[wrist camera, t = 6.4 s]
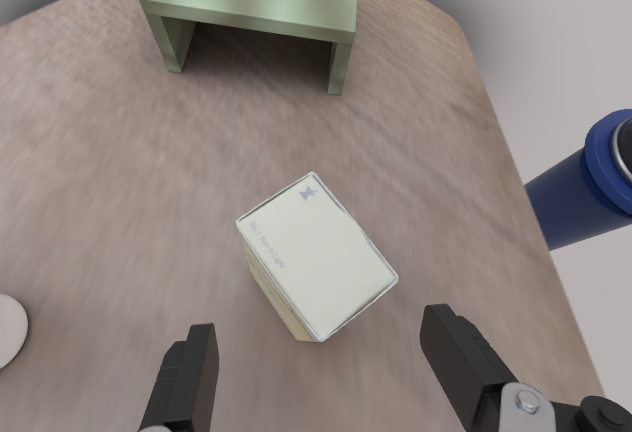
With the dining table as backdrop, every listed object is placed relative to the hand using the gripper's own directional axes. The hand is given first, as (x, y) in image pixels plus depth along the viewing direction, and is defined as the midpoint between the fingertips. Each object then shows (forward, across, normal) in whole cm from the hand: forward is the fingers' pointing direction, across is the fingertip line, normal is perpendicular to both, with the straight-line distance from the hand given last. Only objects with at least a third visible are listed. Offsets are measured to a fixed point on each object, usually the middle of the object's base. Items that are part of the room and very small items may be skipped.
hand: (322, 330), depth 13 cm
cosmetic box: (+11, 0, +6) cm, 13 cm away
